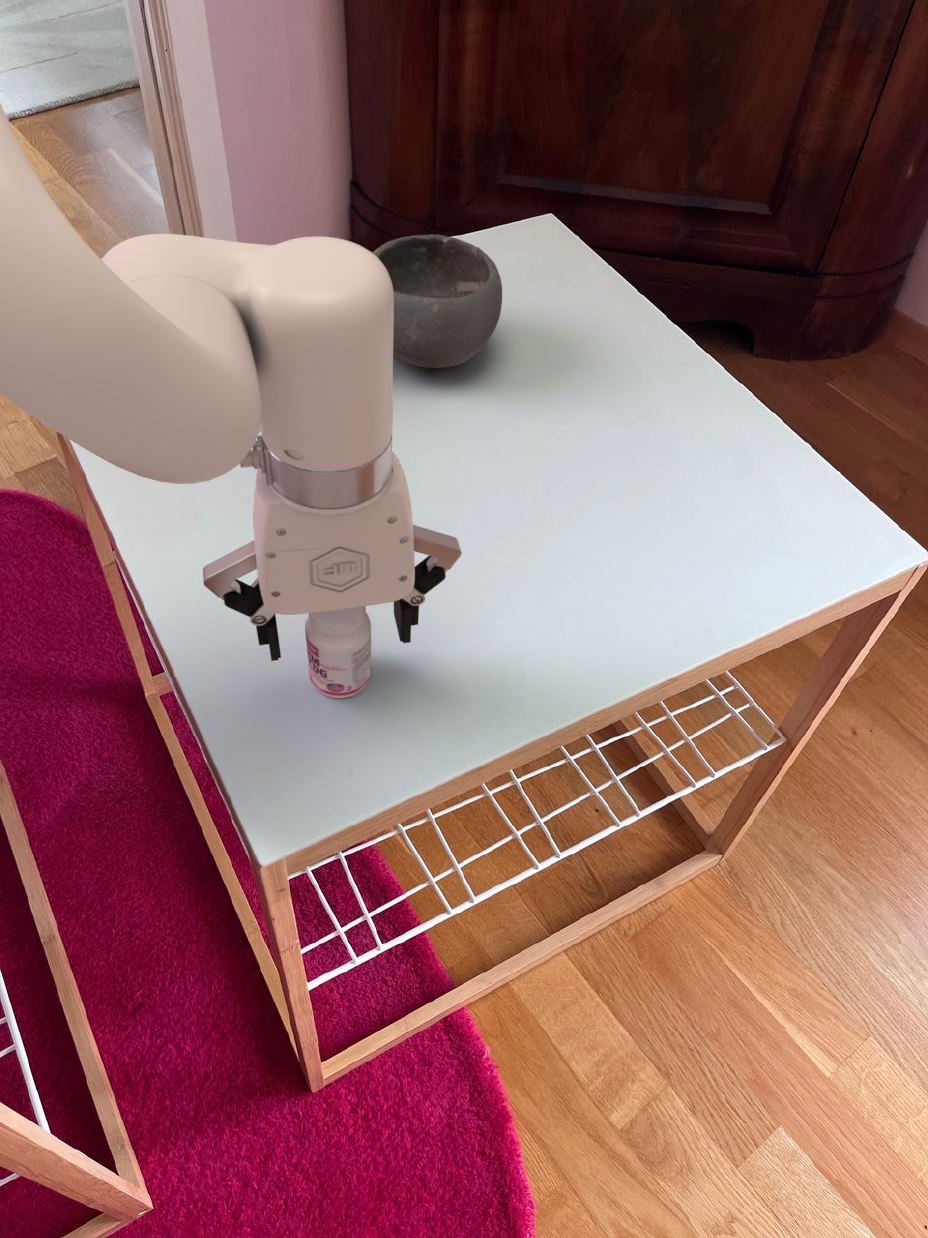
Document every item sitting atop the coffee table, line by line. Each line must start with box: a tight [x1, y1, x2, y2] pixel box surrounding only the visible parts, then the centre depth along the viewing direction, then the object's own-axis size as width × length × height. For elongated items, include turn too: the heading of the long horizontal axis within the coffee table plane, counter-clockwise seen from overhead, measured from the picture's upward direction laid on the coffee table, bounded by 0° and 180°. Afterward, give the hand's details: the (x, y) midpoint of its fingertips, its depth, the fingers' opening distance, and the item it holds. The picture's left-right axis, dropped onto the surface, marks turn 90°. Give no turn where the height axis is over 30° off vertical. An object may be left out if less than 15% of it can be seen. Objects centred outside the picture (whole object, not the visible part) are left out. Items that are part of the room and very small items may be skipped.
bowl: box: [372, 234, 503, 369], centre depth 97 cm, size 15×15×10 cm
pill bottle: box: [304, 606, 372, 699], centre depth 70 cm, size 5×5×8 cm
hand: (338, 636), depth 69 cm, fingers open, 9 cm apart
